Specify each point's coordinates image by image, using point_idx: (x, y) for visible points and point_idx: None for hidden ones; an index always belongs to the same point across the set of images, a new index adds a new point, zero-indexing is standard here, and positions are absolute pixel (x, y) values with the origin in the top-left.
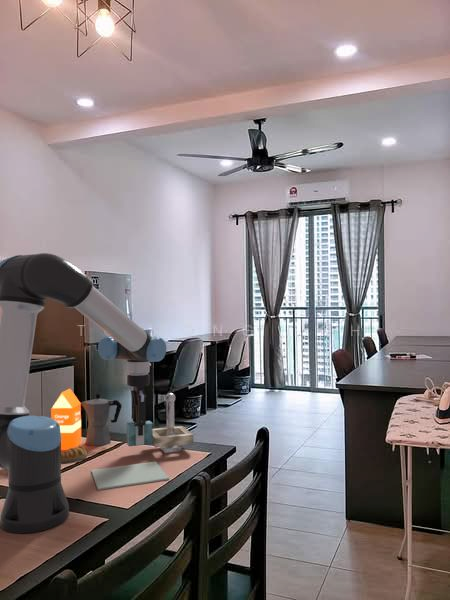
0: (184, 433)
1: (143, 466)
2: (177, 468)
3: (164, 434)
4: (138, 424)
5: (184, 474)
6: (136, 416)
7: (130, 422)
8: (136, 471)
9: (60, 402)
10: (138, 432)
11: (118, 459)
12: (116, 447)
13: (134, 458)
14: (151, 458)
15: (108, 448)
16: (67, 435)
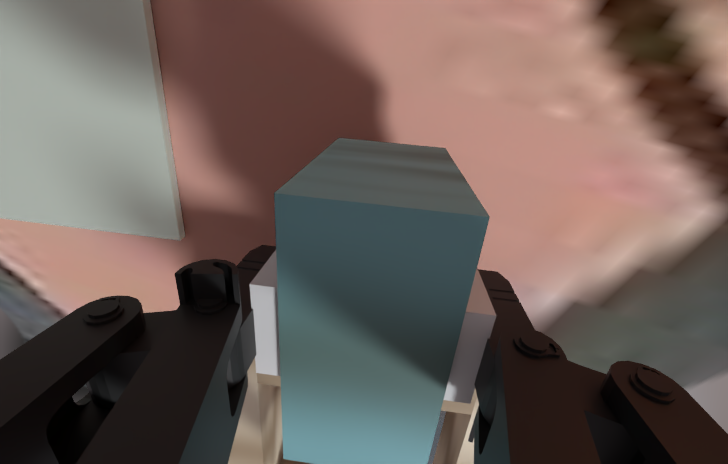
0: None
1: (107, 150)
2: (85, 291)
3: (448, 433)
4: (91, 304)
5: (5, 285)
6: (169, 412)
7: (469, 276)
8: (25, 83)
9: None
10: (260, 261)
11: (338, 41)
12: (655, 107)
13: (312, 155)
14: (272, 243)
15: (684, 30)
16: None
